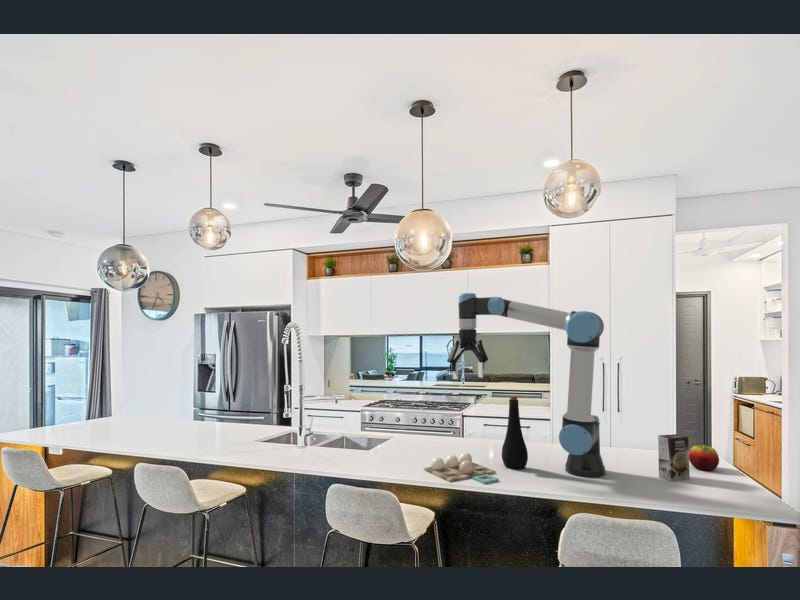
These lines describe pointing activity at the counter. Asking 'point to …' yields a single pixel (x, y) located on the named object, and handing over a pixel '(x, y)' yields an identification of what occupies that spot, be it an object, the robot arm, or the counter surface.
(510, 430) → the bottle
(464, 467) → the brown egg
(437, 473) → the carton
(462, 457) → the cream egg
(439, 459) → the cream egg
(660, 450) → the coffee box
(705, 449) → the fruit
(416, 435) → the counter surface
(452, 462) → the cream egg
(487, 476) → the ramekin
